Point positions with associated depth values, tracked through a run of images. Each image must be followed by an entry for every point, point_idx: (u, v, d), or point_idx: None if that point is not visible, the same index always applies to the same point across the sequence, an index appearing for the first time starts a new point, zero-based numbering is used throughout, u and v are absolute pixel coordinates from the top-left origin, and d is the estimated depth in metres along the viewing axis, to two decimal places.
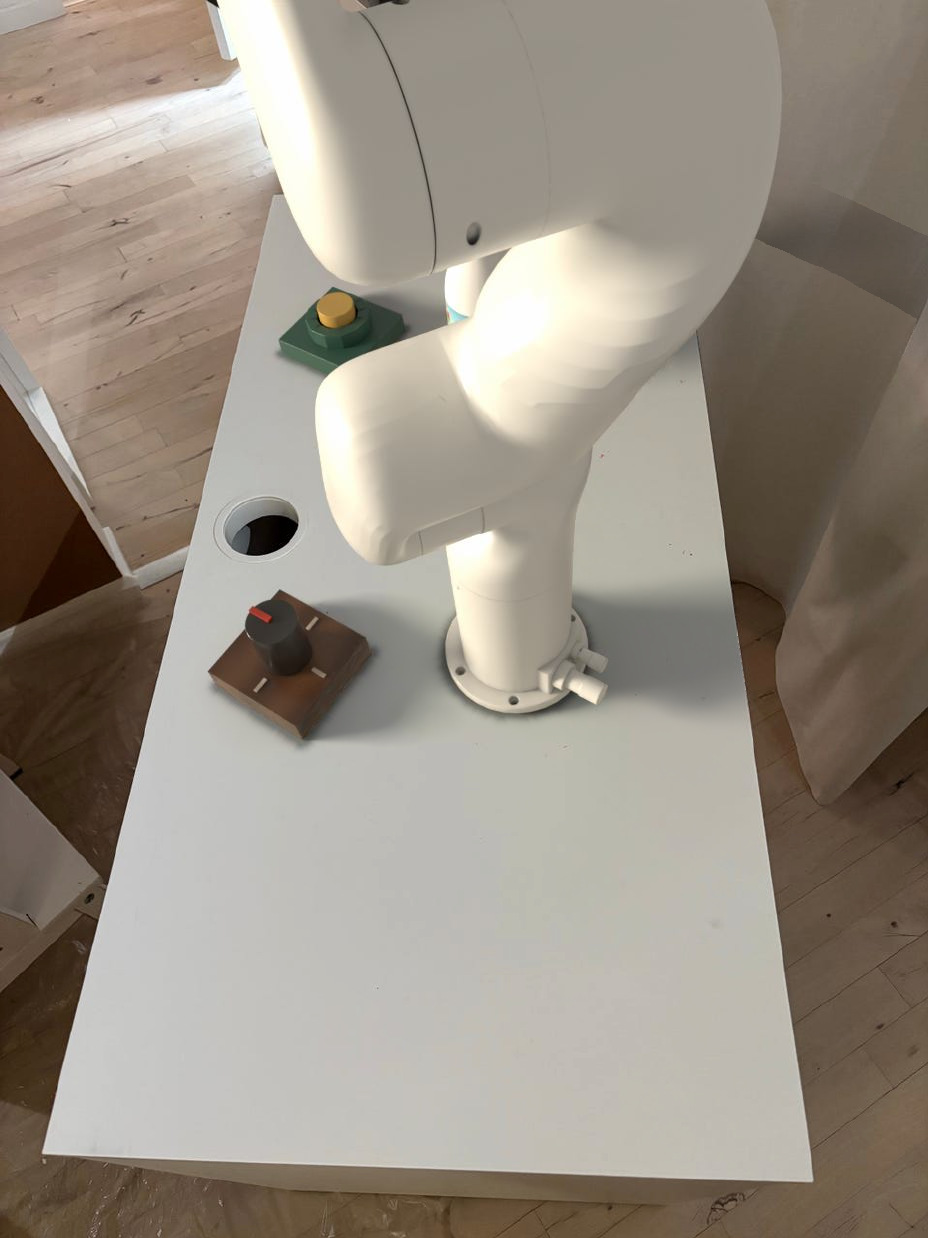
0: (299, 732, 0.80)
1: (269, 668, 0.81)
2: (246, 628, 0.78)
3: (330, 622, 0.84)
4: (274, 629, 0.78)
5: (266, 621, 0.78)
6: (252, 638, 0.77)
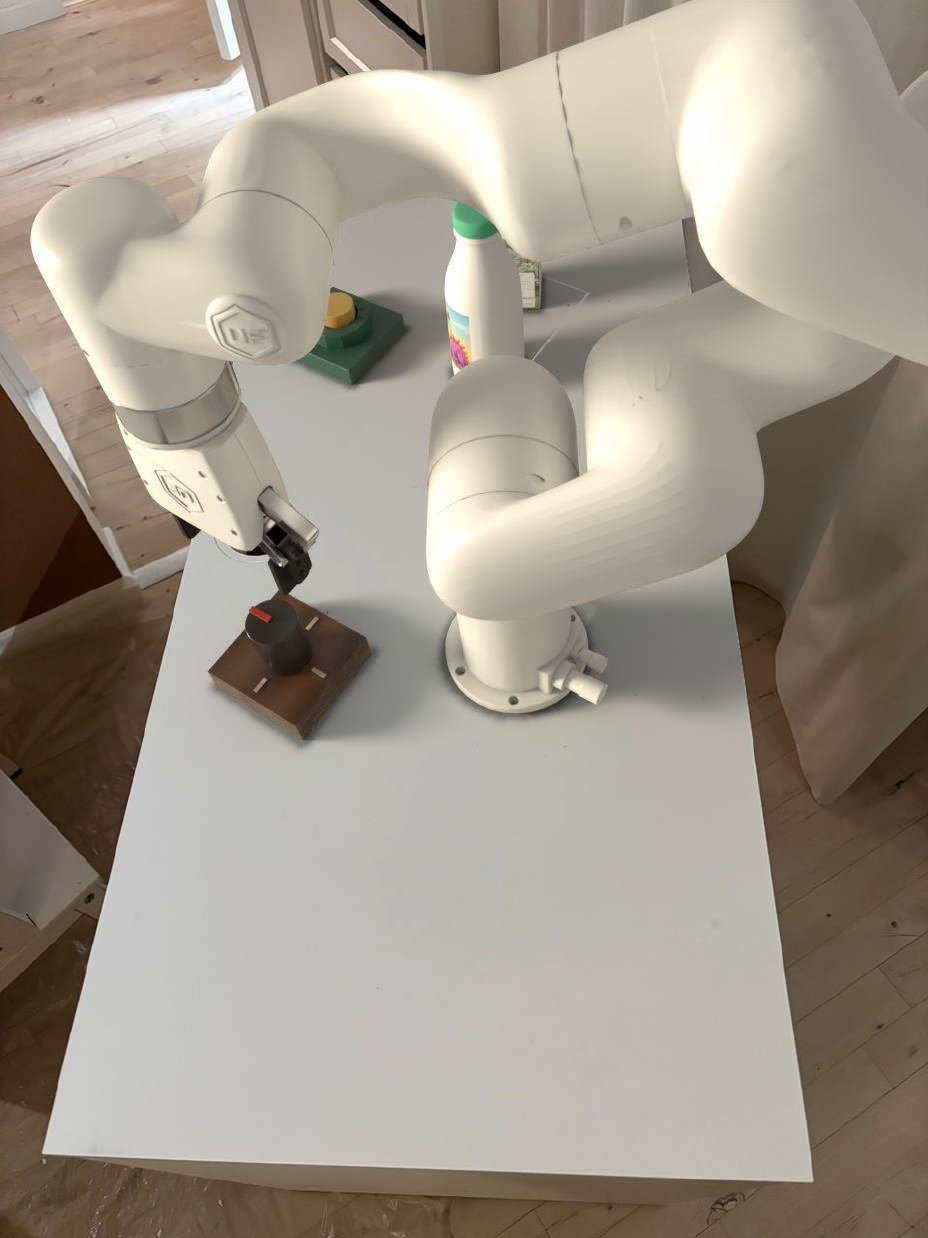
0: (299, 732, 0.80)
1: (269, 668, 0.81)
2: (246, 628, 0.78)
3: (330, 622, 0.84)
4: (274, 629, 0.78)
5: (266, 621, 0.78)
6: (252, 638, 0.77)
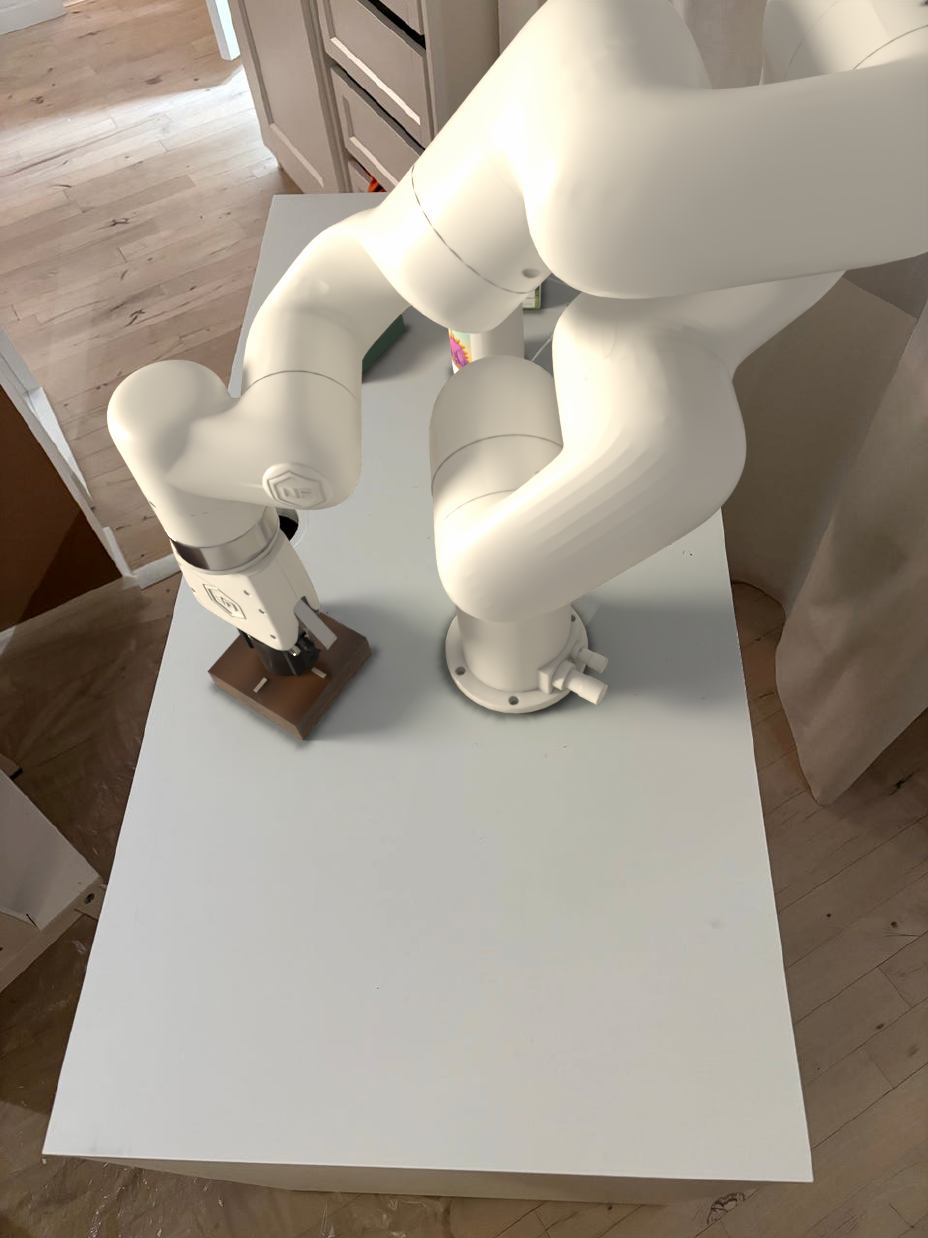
0: (299, 732, 0.80)
1: (269, 668, 0.81)
2: None
3: (330, 622, 0.84)
4: None
5: None
6: (252, 638, 0.77)
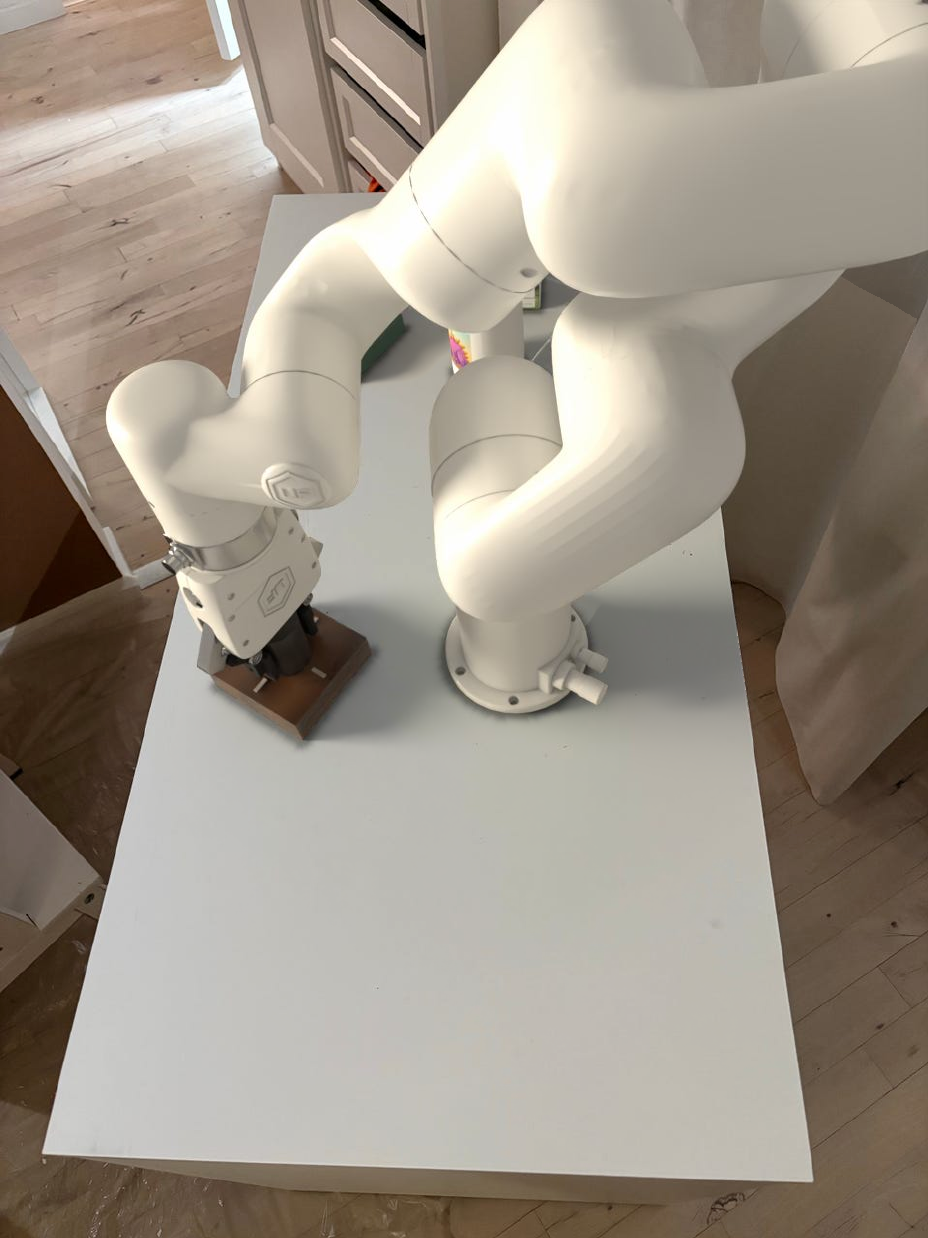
0: (299, 732, 0.80)
1: (304, 659, 0.81)
2: (275, 642, 0.77)
3: (330, 622, 0.84)
4: None
5: None
6: (288, 634, 0.77)
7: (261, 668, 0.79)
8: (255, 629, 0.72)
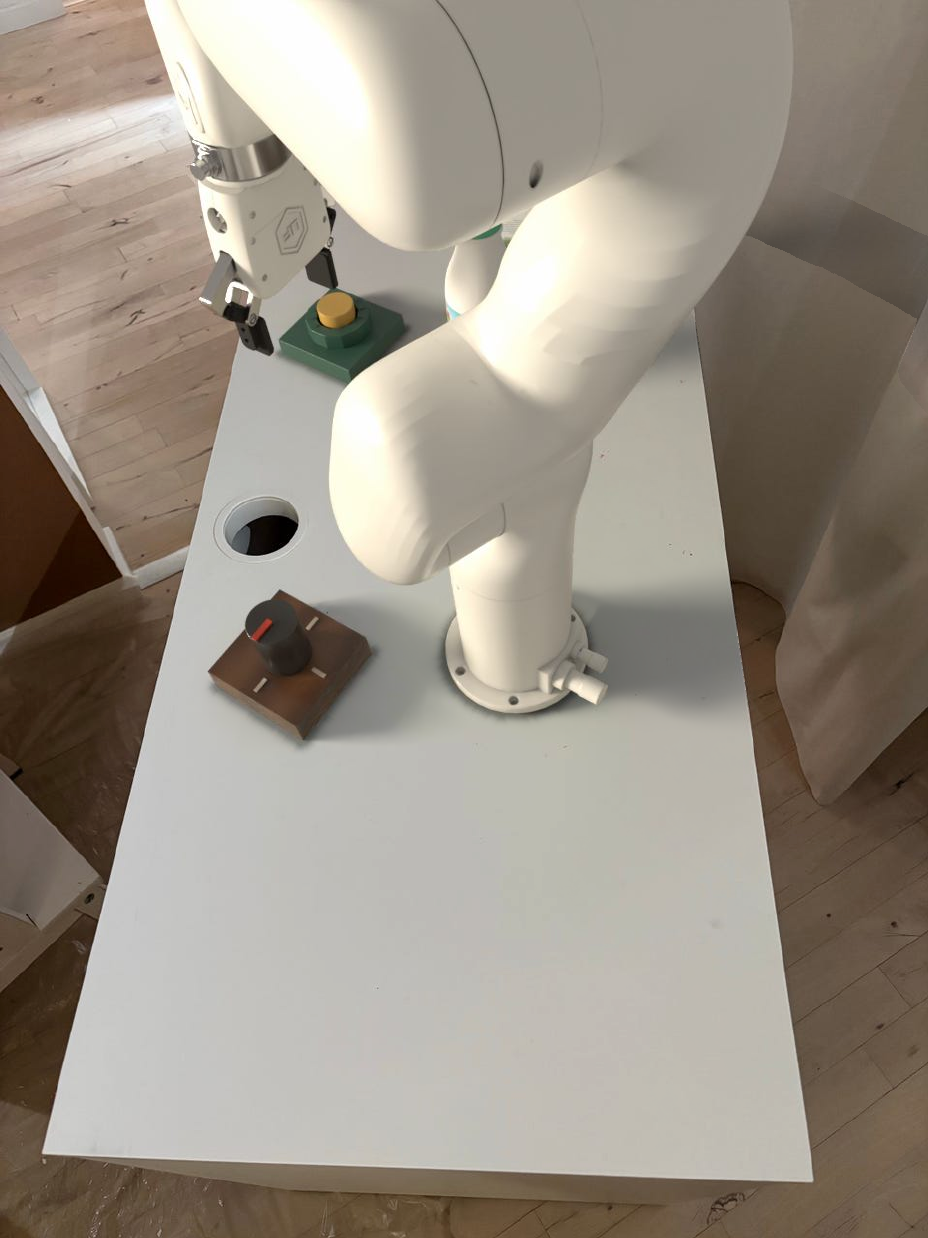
0: (299, 732, 0.80)
1: (304, 658, 0.81)
2: (275, 641, 0.77)
3: (330, 622, 0.84)
4: (281, 616, 0.78)
5: (271, 623, 0.78)
6: (288, 634, 0.77)
7: (256, 337, 0.83)
8: (273, 265, 0.78)
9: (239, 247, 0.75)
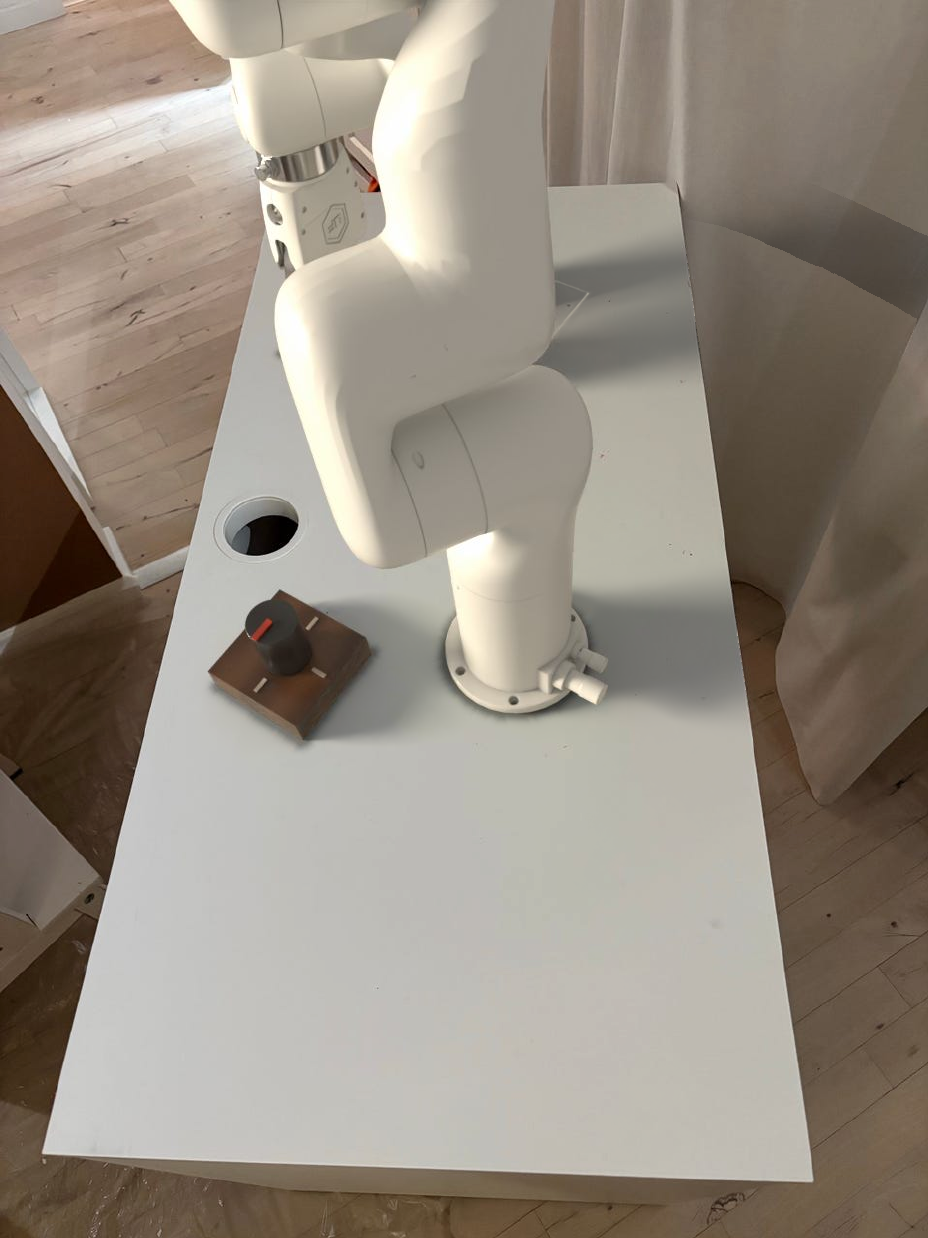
0: (299, 732, 0.80)
1: (304, 658, 0.81)
2: (275, 641, 0.77)
3: (330, 622, 0.84)
4: (281, 616, 0.78)
5: (271, 623, 0.78)
6: (288, 634, 0.77)
7: None
8: (319, 252, 0.93)
9: (292, 237, 0.90)
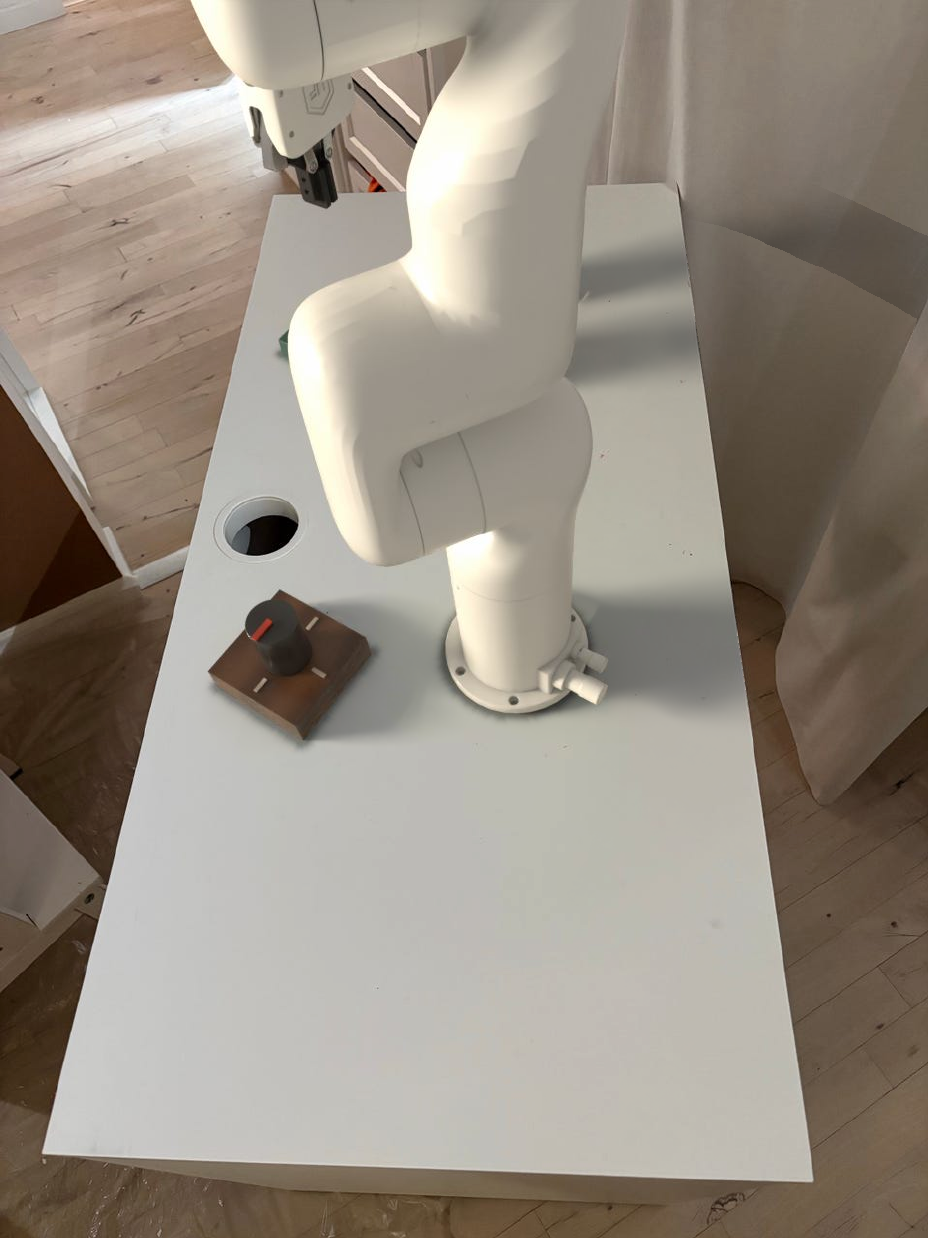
0: (299, 732, 0.80)
1: (304, 658, 0.81)
2: (275, 641, 0.77)
3: (330, 622, 0.84)
4: (281, 616, 0.78)
5: (271, 623, 0.78)
6: (288, 634, 0.77)
7: (315, 188, 0.89)
8: (299, 122, 0.81)
9: (268, 99, 0.78)
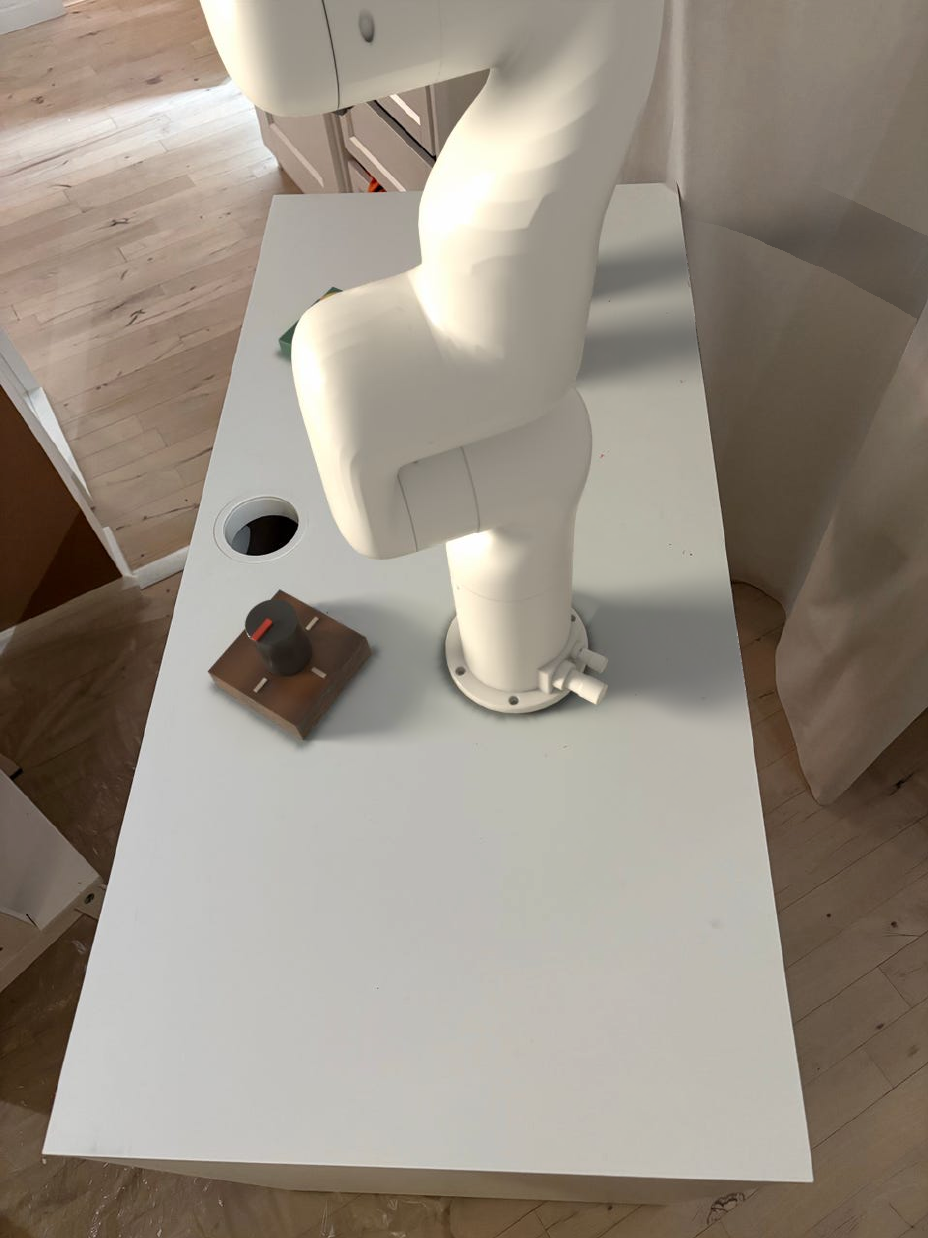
0: (299, 732, 0.80)
1: (304, 658, 0.81)
2: (275, 641, 0.77)
3: (330, 622, 0.84)
4: (281, 616, 0.78)
5: (271, 623, 0.78)
6: (288, 634, 0.77)
7: None
8: None
9: None
